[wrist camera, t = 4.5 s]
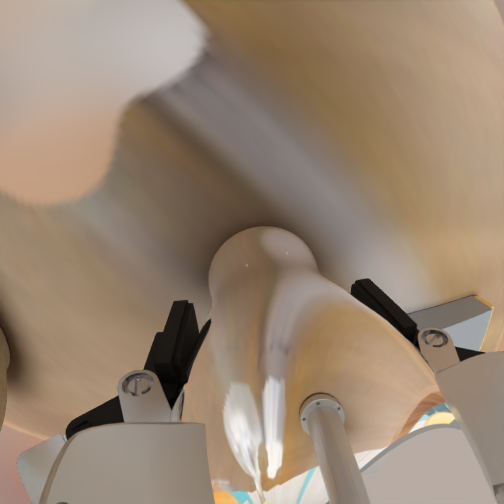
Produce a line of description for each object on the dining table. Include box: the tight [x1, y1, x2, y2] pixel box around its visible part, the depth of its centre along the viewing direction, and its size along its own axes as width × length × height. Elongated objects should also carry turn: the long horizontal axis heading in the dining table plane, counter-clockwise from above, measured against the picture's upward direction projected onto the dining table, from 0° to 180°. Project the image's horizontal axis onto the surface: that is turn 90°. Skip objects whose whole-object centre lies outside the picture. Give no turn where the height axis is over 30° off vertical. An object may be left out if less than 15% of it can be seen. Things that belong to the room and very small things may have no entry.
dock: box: [407, 296, 494, 351], centre depth 19 cm, size 17×15×3 cm
